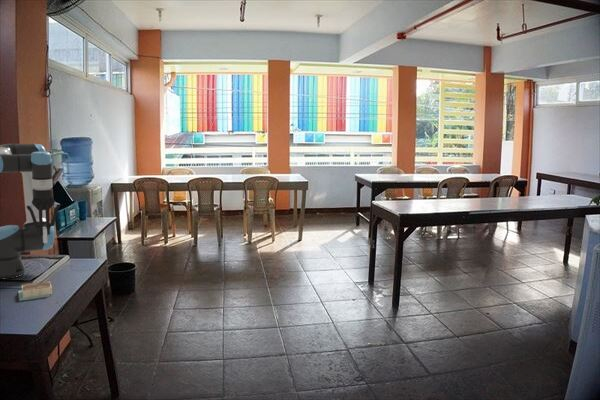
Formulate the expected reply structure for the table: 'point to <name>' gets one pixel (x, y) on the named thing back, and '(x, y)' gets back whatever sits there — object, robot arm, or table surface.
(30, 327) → the table surface
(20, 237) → the robot arm
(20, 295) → the mat
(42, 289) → the slab
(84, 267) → the table surface
